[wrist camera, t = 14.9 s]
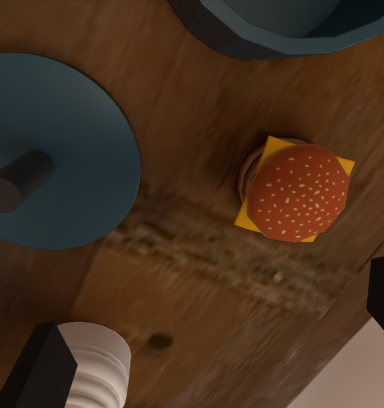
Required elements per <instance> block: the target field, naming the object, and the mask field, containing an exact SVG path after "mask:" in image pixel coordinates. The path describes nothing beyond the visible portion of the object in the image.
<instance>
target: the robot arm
mask: <svg viewBox="0 0 384 408" xmlns="http://www.w3.org/2000/svg"><path fill="white" fill-rule="evenodd" d="M366 309H367V311H368V312H369V313H370V314H371V315H372V317H373V318H374V319H375V320H376V321H377V322H378V324H379V325H380V326H381V327H382V329H383V330H384V257H379V258H374V259H371V267H370V277H369V288H368V298H367V308H366ZM77 367H78V364H77V362H76V360H75V359H74V357H73V355H72V353H71V351H70V349H69V347H68V346H67V344H66V342H65V340H64V338H63V336H62V334H61V333H60V331H59V329H58V327H57V325H56V323H55V321H52V322H47V323H42V324H37V325H36V326H35V328H34V330H33V332H32V333H31V335H30V337H29V339H28V341H27V343H26V345H25V347H24V348H23V350H22V352H21V354H20V356H19V358H18V360H17V362H16V364H15V365H14V367H13V369H12V371H11V373H10V375H9V377H8V379H7V380H6V382H5V384H4V386H3V388H2V390H1V392H0V408H65V405H66V401H67V398H68V395H69V392H70V389H71V386H72V382H73V379H74V376H75V373H76V370H77Z"/></svg>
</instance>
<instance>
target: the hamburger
mask: <svg viewBox="0 0 384 408" xmlns="http://www.w3.org/2000/svg"><path fill="white" fill-rule="evenodd" d="M354 163H355V161H351V160H347V159H344V158H340V157H337V156H335V155H334V153H333V152H332V151H331V150H329V149H327V148H324V147H322V146H320V145H316V144H309V143H307V142H305V141H303V140H301V139H299V138H286V137H280V138H275V137H272V136H268V139H267V142H265V143H263V144H262V145H260V146H259V147H258V148H257V149H256V150H254V151H253V152H252V153H251V154H249V155H248V157H247V159H246V160H245V162H244V164H243V166H242V167H241V169H240V172H239V179H238V185H237V189H238V192H239V196H240V200H241V203H242V206H241V209H240V211H239V213H238V215H237V217H236V219H235V221H234V224H235V225H238V226H241V227H243V228H246V229H250V230H253V231H257V232H261V233H263V234H264V236H266V237H267V238H271V239H277V240H283V241H289V242H295V243H296V242H299V241H302V242H313V240H314V239H315V237H316V236H317V234H319V233H322V232H324V231H325V230H326V229H327V228H328V227H329V226H330V225H331V223H332V222H333V221H334V220H335V219H336V218H337V217H338V215H339V214H340V213H341V212H342V211H343V210H344V208H345V204H346V198H347V192H348V186H349V180H350V178H349V175H350V173H351V170H352V168H353V166H354Z"/></svg>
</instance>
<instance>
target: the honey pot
mask: <svg viewBox="0 0 384 408" xmlns="http://www.w3.org/2000/svg"><path fill="white" fill-rule="evenodd" d="M57 327H58V329H59V331H60V333H61V334H62V336H63V338H64V340H65V342H66V344H67V346H68V347H69V349H70V351H71V353H72V355H73V357H74V359H75V360H76V362H77V364H78V367H77V370H76V373H75V376H74V379H73V382H72V386H71V389H70V392H69V395H68V398H67V401H66V405H65V408H123V406H124V404H125V401H126V395H127V386H128V379H129V370H130V361H131V353H130V348H129V346H128V344H127V343H126V341H125V340H124V339H123V338H122V337H121V336H120V335H119V334H117V333H116V332H115V331H113V330H111V329H109V328H107V327H105V326H102V325H98V324H94V323H89V322H71V323H63V324H60V325H57Z"/></svg>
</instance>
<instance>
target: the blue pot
mask: <svg viewBox="0 0 384 408" xmlns="http://www.w3.org/2000/svg"><path fill="white" fill-rule="evenodd" d="M168 1H169V3H170V4H171V6H172V8H173V10H174V11H175V13H176V14H177V16H178V17H179V18H180V20H181V21H182V23H183V24H184V25H185V27H186V28H187V29H188V30H189V31H190V32H191V33H192V34H193V35H194V36H196V37H197V38H198V39H199V40H200V41H202V42H203V43H204V44H206V45H207V46H209V47H210V48H212V49H213V50H214V51H217V52H220V53H222V54H225V55H227V56H230V57H234V58H237V59H240V60H244V61H251V60H277V59H286V58H295V57H304V56H313V55H322V54H330V53H335V52H338V51H340V50H343V49H345V48H348V47H350V46H353V45H356V44H358V43H361V42H363V41H366V40H369V39H371V38H374V37H376V36H379V35H381V34H383V33H384V0H168Z"/></svg>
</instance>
